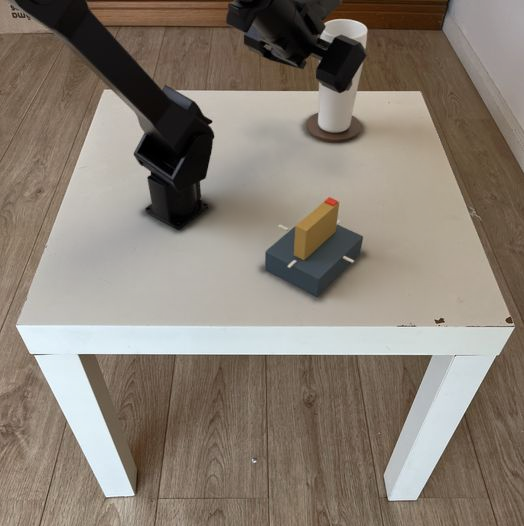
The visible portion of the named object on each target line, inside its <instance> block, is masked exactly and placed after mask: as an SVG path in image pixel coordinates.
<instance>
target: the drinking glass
mask: <svg viewBox="0 0 524 526" xmlns="http://www.w3.org/2000/svg"><path fill="white" fill-rule="evenodd" d="M323 23H324V24H325V26H326V27H325V29H324V31H323V33H322V34H321V35H319V38H321V39H323V40H325V41H327V42H330V43H332V41H333V39H334V38H335V37H336V36H339V35H344V36H346V37H349V38H351V39H353V40H356V41H358V42H360V43H361V44H362V45H363V47H364V48H365V50H366V49H367V42H368V41H367V40H368V27H367V26H366V25H365V24H364V23H362V22H360V21H357V20H353V19H349V18H348V19H347V18H338V19H331V20H328V21H326V22H323ZM325 50H326V49H325ZM320 61H321V60H319V59H318V64H319V63H320ZM364 61H365V60H364ZM364 61H363V62H362V64H361V66H360V67H359V69H358V71H357V72H356V74H355V76H354V77H353V79H352V86H351V88H350V89H349V91H344V92H342V93H338V92H335V91H333V90H331V89H329V88H327V87H324V86H322V84H321V83H320V82H319V81H318V112H317V113H318V125H319V127H320V128H321V129H323V130H324V131H327V132H331V133H339V132H343V131H345V130H347V129H348V128H349V127H350V124H351V118H352V116H353V112H354V106H355V102H356V97H357V93H358V88H359V84H360V81H361V75H362V71H363V67H364Z"/></svg>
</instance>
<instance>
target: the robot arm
mask: <svg viewBox="0 0 524 526" xmlns="http://www.w3.org/2000/svg"><path fill="white" fill-rule="evenodd" d="M4 2H7V3H8V4H9V5H10V6H12V7H13V8H14V9H17V10H18V11H19V12H21V13H23V14H24V15H26V16H27V17H28V18H30V19H32V20H33V21H34V22H36V23H38V24H39V25H41V26H42V27H44V28H45V29H47V30H49V32H51V33H52V34H54V35H55V37H57V38H58V39H59V41H61V42H62V43H63V44H64V45H65V46H66V47H67V48H68V49H69V50H70V51H71V52H72V53H73V54H74V55H75V56H76V57H77V58H78V59H79V60H80V61H81V62H82V63H83V64H84V65H85V66H86V67H87V68H89V70H90V71H91V72H92V73H94V75H96V76H97V77H98V78H99V79H100V80H101V81H102V82H103V83H104V85H106V86H107V87H108V88H109V89H110V90H111V91H112V92H113V93H114V94H115V96H117V97H118V98H119V99H120V100H121V101H123V103H124V104H125V105H126V106H128V108H129V109H130V110H131V111H132V112H134V113H135V115H136V117H137V121H138V123H139V127H140V128H141V130H142V131H143V134H142V136H141V138H140V140H139V142H138V144H137V146H136V148H135V150H134V151H133V157H134V158H135V160H136V161H137V163H138V164H139V166H141V167H144V168H145V169H146V170H148V171H149V172H150V175H148V176H147V178H146V179H147V185H148V190H149V197H150V202H151V204H149V205H148V206H146V207H145V208H144V212H145V213H146V214H147V215H150V216H151V217H153V218H155V219H157V220H159V221H160V222H162V223H164V224H165V225H168V226H169V227H172V228H173V229H175V230H181V229H182V228H183V227H185V226H186V225H187V224H189V223H190V222H192V221H193V220H194V219H195V218H198V217H199V216H200V215H201V214H202V213H204V212H205V211H206V210H208V209H209V207H210V206H209V203H208V202H206V201H204V200H202V199H201V198H202V191H201V190H202V189H201V181H203V180H205V179H206V178H207V175H208V170H209V164H210V160H211V155H212V150H213V144H214V139H215V132H214V130H213V129H212V127H211V126H210V125H211V124H213V119H211V118H209V117H208V116H206V115H204V113H203V111H202V109H201V108H200V106H199V105H198V104H197V102H196V101H194V100H193V99H191V98H190V97H187V96H186V95H184V94H183V93H181V92H180V91H177V90H175V89H174V88H172V87H171V86H168V85H167V84H164V86H163V87H162V88H161V87H160V86H159V84H157V83H156V81H155V80H154V79H153V78H152V77H151V76H150V75H149V74H148V73H147V71H146V70H145V69H144V68H143V67H142V66H141V65H140V64H139V62H137V60H136V59H134V57H133V56H132V55H131V54H130V53H129V52H128V51H127V50H126V48H125V47H124V46H123V45H122V44H121V43H120V41H119V40H118V39H117V38H115V36H114V35H113V34H112V32H110V30H109V29H108V28H107V27H106V26H105V25H104V24H103V23H102V21H100V20H99V18H98V17H97V16H96V14H95V13H93V12H92V9H91V8H90V5H89V4H88V1H87V0H4ZM342 3H343V0H233V1H232V2H229V3H228V4H227V13H226V17H225V25H227V26H229V27H231V28H233V29H235V30H237V31H240V32H241V33H243V45H245V47H247V49H248V50H250V52H252V53H255V54H257V55H258V56H261V57H263V58H264V59H267V60H268V61H271V62H275V63H278V64H282V65H286V66H288V67H289V66H290V67H292V68H296V69H300V70H304V69H305V67H306V66H307V59H308V58H309V57H313V58H314V59H317V60H318V61H319V60H321V61H320V63H319V62H318V65H317V67H316V70H315V79H316V81H318V83H319V82H320V83H321V84H322V86H324V87H327V88H329V89H331V90H333V91H335V92H338V93H342V92H344V91H349V89H350V88H351V86H352V79H353V77H354V76H355V74H356V72H357V71H358V69H359V67H360V66H361V64H362V62H363V61H365V59H366V57H367V56H368V55H367V50H366V49H365V48H364V47H363V45H362V44H361V43H360V42H358V41H356V40H353V39H351V38H349V37H346V36H344V35H339V36H336V37H335V38H334V39H333V41H332V43H330V42H327V41H325V40H323V39H321V38H320V37H318V36H320V35H321V34H322V33H323V31H324V29H325V27H326V26H325V24H324V23H325V22H323V21H324V20H326V19H327V18H328V17H329V15H331V13H332V12H334V11H335V9H336V8H338V7H340V6H341V4H342ZM325 49H326V50H325ZM363 63H364V62H363Z"/></svg>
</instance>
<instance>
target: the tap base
mask: <svg viewBox="0 0 524 526" xmlns="http://www.w3.org/2000/svg"><path fill="white" fill-rule="evenodd" d="M340 223H342V221H341V220H340V219H337V226H336V232H335V233H334V234H333V235H331V236H330V237H329V238H328V239H327V240H326V241H325V242H324V243H323V244H322V245H321V246H319V247H318V248H317V249H316V250H315V251H314V252H313V253H312V254H311V255H310V256H309V257H307V258H306V259H305V260H302V259H300V258H298V257H296V256H294V242H295V226H293V227H292V228H291V229H290V230H289V228H288V227H286V226H285V225H282V224H279V225H278V226H277V227H278V228H280V229H281V230H283V231H284V230H285V231H287V232H286V233H285V234H284V235H283V236H282V237H280V238H279V239H278V240H277V241H276V242H274V243H273V244H272V245H271V246H270V247H269V248H267V249H266V250H265V252H264V254H265V255H264V256H265V257H264V265H265V266H264V270H266V271H268V272H269V273H271V274H273V275H275V276H277V277H278V278H281V279H283V280H284V281H287V282H288V283H290V284H292V285H293V286H296V287H298V288H299V289H301V290H302V291H305V292H306V293H309V294H310V295H313V296H314V297H319V296H320V295H321V293H322V292H324V291H325V289H327V288H328V287H329V286H330V285H331V284H332V283H333V282H334V281H335V280H336V279H337V278H338V277H339V276H340V275H341V274H342V273H343V272H344V271H345V270H346V269H347V268H348V267H349V266H350V265H351V264H353V263H355V260H356V259H357V258H358V257H359V256H360V255H361V252H362V246H363V240H364V235H361V234H359V233H358V232H355V231H353V230H351V229H348V227H347V228H346V227H345V226H342V225H340Z"/></svg>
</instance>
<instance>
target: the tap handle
mask: <svg viewBox="0 0 524 526" xmlns="http://www.w3.org/2000/svg"><path fill="white" fill-rule="evenodd" d="M339 211H340V201H339V200H337V199H335V198H332V197H331V196H328V197H327V198H326V199H324V201H323V202H322V203H320V204H319V205H318V206H317V207H316V208H315V209H313V210H312V211H311V212H309V214H307V215H306V216H305V217H304V218H303V219H302V220H301V221H299V222H298V223H296V224H295V225H294V227H295V242H294V256H296V257H298V258H300V259H302V260H305V259H306V258H307V257H309V256H310V255H311V254H312V253H313V252H314V251H315V250H316V249H317V248H318V247H319V246H321V245H322V244H323V243H324V242H325V241H326V240H327V239H328V238H329V237H330V236H331V235H333V234H334V233H335V232H336V226H337V221H338V217H339Z"/></svg>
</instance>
